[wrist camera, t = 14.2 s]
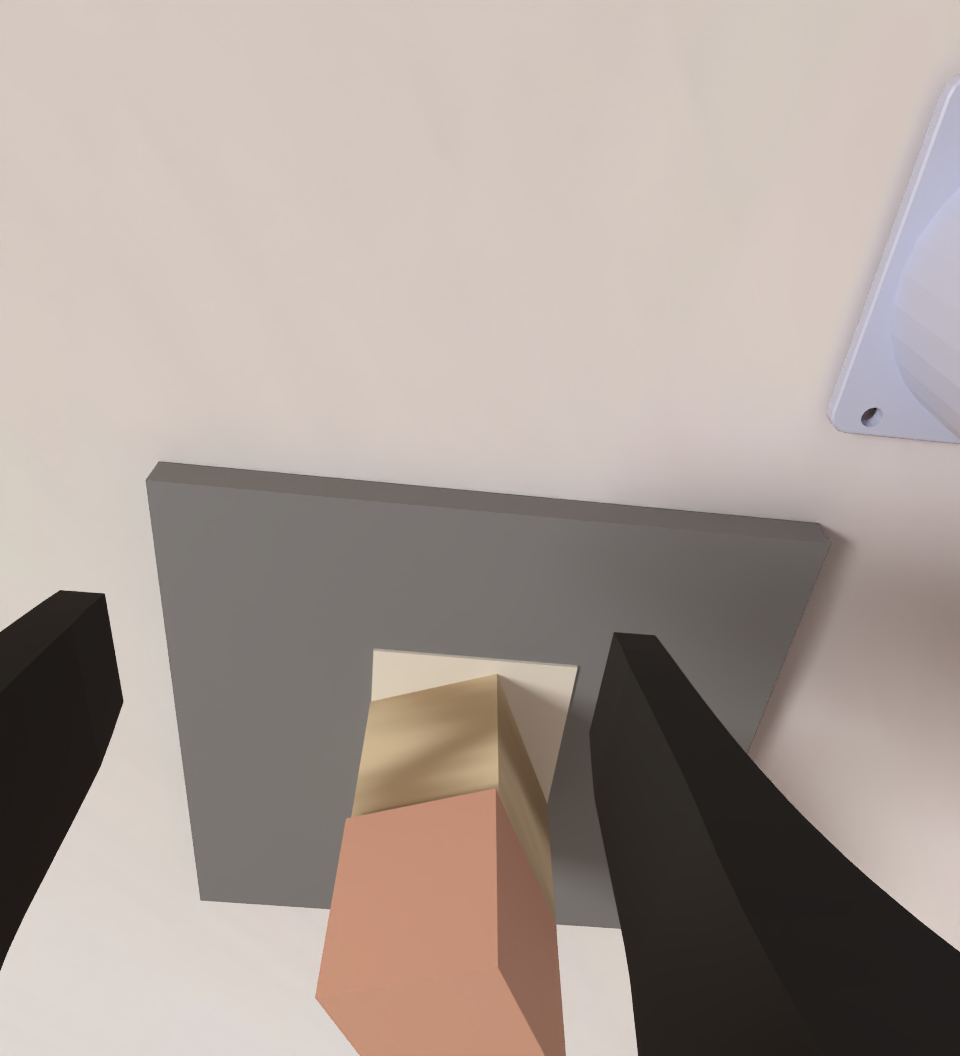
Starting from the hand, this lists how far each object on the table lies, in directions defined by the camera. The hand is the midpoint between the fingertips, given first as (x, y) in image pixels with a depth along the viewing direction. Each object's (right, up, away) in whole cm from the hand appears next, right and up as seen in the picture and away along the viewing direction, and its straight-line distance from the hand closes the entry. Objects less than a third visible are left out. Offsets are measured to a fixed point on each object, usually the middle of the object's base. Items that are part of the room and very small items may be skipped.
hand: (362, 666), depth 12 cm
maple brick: (+1, -5, +14) cm, 15 cm away
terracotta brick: (+1, -7, +10) cm, 13 cm away
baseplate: (+1, -5, +15) cm, 16 cm away
